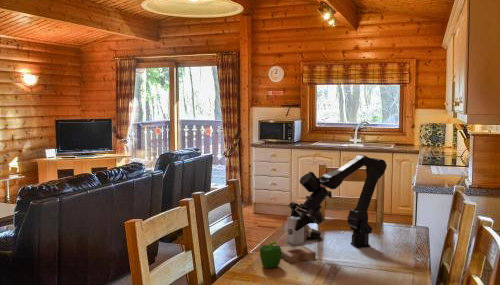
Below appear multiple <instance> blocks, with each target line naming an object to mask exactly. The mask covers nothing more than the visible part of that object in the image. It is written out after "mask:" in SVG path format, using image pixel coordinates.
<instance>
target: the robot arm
mask: <svg viewBox="0 0 500 285" xmlns="http://www.w3.org/2000/svg"><path fill="white" fill-rule="evenodd" d="M362 167H365V174H366V178H365V181H364V183H363V187H362V189H361V192H360V195H359V198H358V200H357V204H356V206H355V208H354V209H349V213H348V216H347V217H346V218H347V224H348V226H349V228H350V230H351V231H352V234H351V242H350V245H353V246H354V247H355V248H367V247H369V248H370V247H371V244H370V242H369V240H370V238H369V236H370V234H372V232H373V228H372V226H371V225H370V224H369V213H368V211H369V207H370V205H371V201H372V199H373V195H374V193H375V188H376V186H377V183H378V181H379V179H381V177H383V175H384V174H385V172H386V170H387V162H386V161H385V160H384V159H381V158H375V157H368V156H367V155H362V154H358V155H356V156H355V157H354V158H353V159H352V160H350V161H349V162H347V163H345V164H343V166H341V167H339V168H338V169H336V170H333V171H329V172H326V173H324V174H322V175H321V176H319V177H318V176H316V175H315V173H314V172H313V171H309V172H308V173H305V174H304V175H303V176H301V177H300V179H299V184H300V185H301V186H302V187H303V188H304V189H305V190H306V191H307V192H308V193H311V194H309V195H306V196H305V199H306V200H305V201H304V202H303V203H300V204H298V203H297V202H295V201H293V202H292V201H291V202H290V203H289V204H288V207H289V208H290V210H291V212H290V217H292V216H300V217H301V218H300V220H299V222H298V224H297V226H296V228H295V230H296V231H298V230H300V229H301V228H303V227H304V226H306V225H309V224H316V225H321V224H322V223H323V222H324V221H325V218H324V216H323V214H322V212H321V209H322V205H321V204H322V203H323V202H324V201H325V199H326V198H329V199H333V196H332V195H333V194H332V191H331V190H336V189H338V187H340V185H342V183H343V182H344V180H345V179H346V178H348V177H349V176H350V175H352V174H354V172H355V173H356V171H358V170H359V169H360V168H362ZM328 189H330V190H328Z"/></svg>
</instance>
